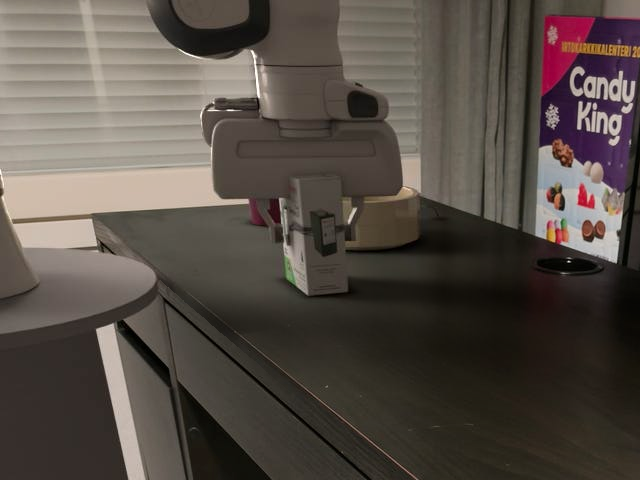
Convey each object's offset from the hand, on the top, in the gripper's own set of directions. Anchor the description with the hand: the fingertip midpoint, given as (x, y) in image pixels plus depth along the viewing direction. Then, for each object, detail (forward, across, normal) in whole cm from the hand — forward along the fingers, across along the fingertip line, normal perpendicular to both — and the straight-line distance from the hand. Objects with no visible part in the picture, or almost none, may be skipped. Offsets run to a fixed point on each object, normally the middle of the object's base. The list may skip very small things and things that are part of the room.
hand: (313, 241), depth 102 cm
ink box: (+5, 0, 0) cm, 5 cm away
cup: (+5, -4, +38) cm, 38 cm away
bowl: (+5, +8, +24) cm, 26 cm away
